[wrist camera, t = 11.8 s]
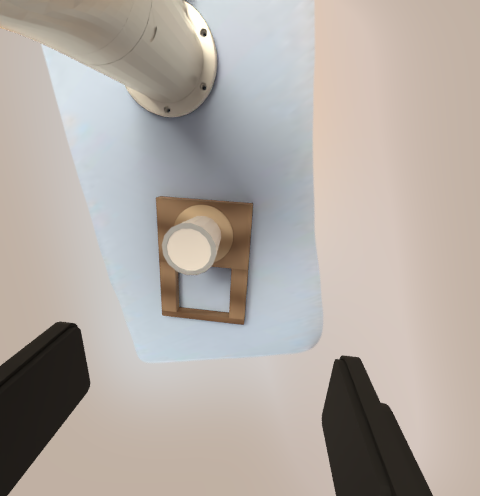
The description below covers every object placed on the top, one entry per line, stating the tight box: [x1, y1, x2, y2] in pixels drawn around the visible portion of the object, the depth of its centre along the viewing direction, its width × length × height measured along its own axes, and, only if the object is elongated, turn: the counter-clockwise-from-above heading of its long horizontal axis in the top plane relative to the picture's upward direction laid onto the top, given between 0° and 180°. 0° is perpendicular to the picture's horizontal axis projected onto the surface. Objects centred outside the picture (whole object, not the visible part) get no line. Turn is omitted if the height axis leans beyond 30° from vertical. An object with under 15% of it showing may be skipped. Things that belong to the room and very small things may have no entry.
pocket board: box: [156, 196, 253, 325], centre depth 41 cm, size 20×14×2 cm
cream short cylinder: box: [162, 216, 221, 275], centre depth 35 cm, size 7×7×7 cm
